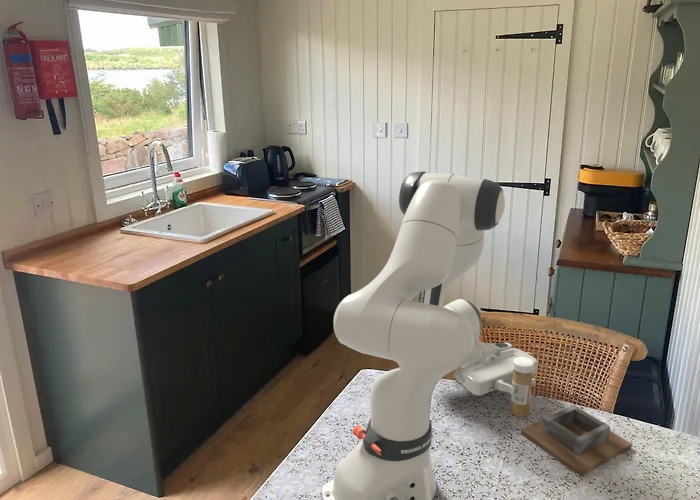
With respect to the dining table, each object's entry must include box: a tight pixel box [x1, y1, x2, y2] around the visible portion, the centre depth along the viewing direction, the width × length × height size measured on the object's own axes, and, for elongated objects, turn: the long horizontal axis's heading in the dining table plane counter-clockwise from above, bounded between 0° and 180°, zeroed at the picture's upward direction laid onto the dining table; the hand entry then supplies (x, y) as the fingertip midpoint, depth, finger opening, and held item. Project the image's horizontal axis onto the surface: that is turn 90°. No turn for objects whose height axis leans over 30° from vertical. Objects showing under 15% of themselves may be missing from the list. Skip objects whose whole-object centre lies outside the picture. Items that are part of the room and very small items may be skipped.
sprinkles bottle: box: [509, 357, 534, 418], centre depth 132 cm, size 5×5×14 cm
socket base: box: [519, 404, 633, 477], centre depth 123 cm, size 16×16×5 cm
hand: (524, 387), depth 131 cm, fingers closed on sprinkles bottle, 4 cm apart
